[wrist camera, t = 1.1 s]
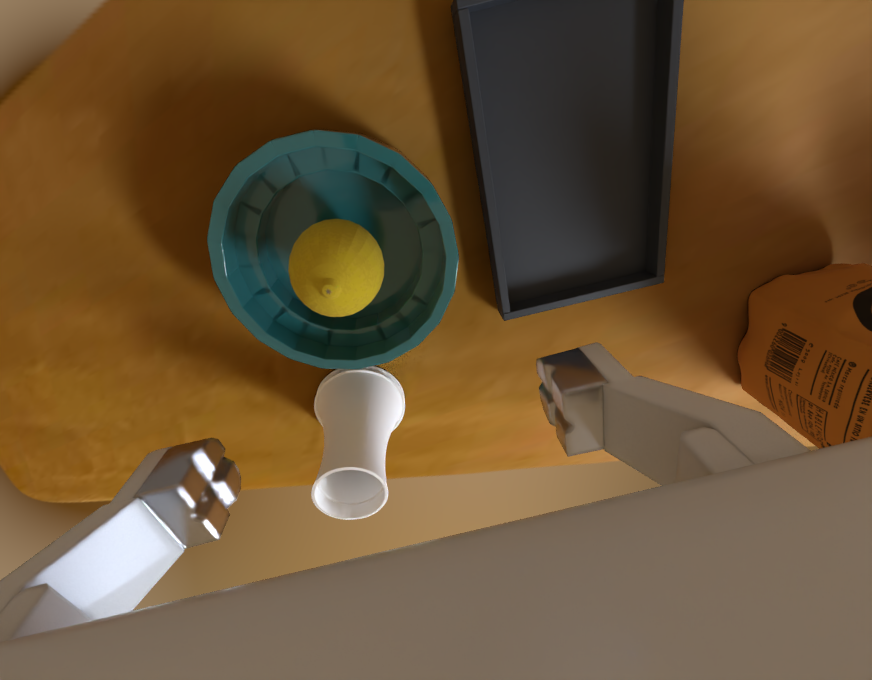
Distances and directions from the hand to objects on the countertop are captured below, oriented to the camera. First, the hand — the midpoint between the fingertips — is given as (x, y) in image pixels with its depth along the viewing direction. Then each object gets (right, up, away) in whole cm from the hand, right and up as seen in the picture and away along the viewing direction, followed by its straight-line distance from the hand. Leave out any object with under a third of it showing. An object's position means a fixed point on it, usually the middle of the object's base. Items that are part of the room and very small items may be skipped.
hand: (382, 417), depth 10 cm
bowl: (-5, +8, +18) cm, 20 cm away
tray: (+10, +14, +17) cm, 24 cm away
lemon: (-5, +8, +18) cm, 20 cm away
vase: (-5, -3, +24) cm, 25 cm away
